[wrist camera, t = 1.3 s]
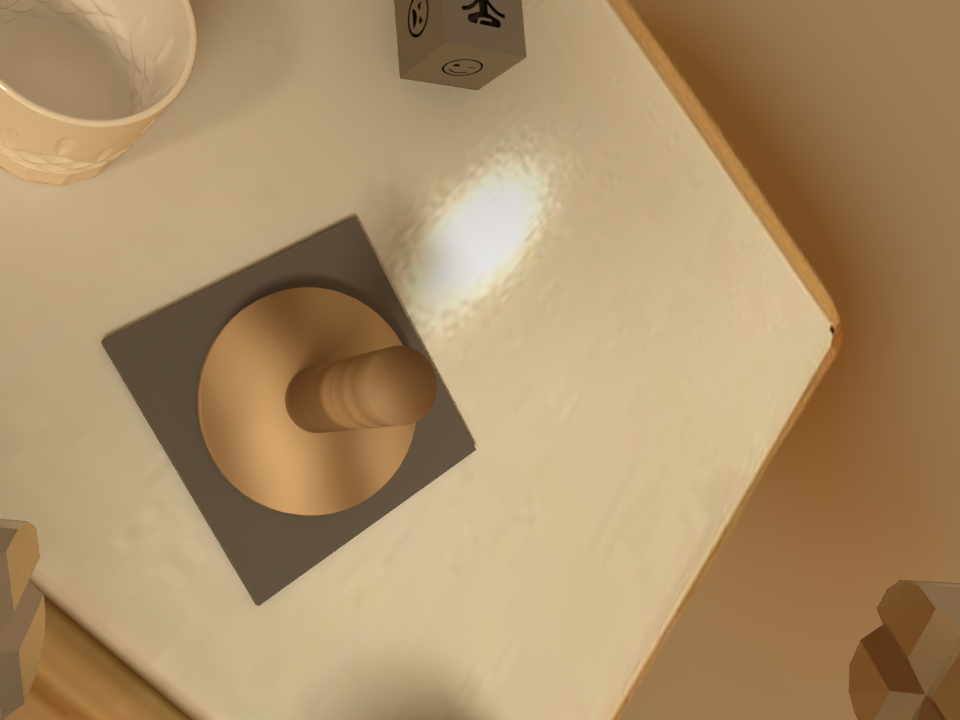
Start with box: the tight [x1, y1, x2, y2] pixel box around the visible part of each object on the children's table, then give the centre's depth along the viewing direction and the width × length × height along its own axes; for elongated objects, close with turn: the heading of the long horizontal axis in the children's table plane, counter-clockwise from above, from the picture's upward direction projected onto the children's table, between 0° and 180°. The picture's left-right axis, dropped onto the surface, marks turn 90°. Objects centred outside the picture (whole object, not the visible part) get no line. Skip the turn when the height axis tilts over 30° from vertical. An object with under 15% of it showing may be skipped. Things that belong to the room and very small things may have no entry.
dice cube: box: [394, 0, 526, 90], centre depth 49 cm, size 5×5×5 cm
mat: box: [101, 217, 476, 606], centre depth 45 cm, size 14×14×1 cm
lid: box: [196, 287, 437, 515], centre depth 40 cm, size 11×11×10 cm
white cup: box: [0, 0, 197, 185], centre depth 36 cm, size 8×8×10 cm
